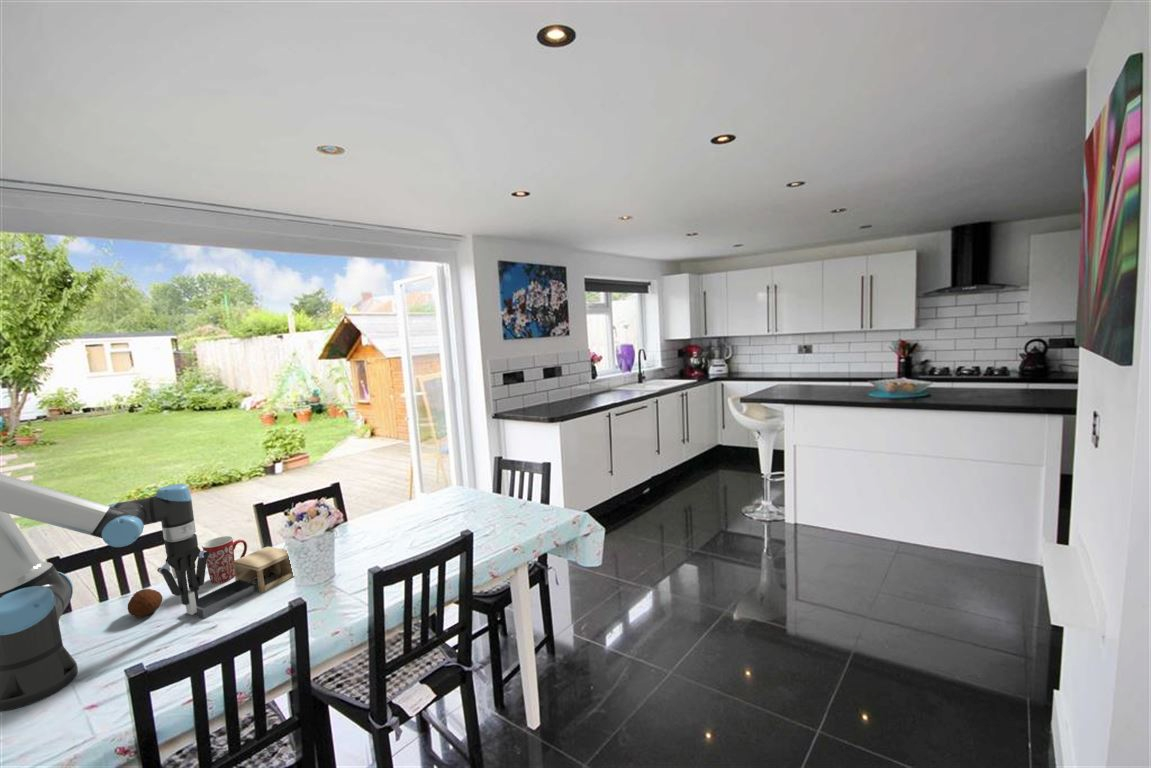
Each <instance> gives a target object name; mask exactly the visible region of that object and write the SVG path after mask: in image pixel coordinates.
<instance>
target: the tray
mask: <svg viewBox="0 0 1151 768" xmlns="http://www.w3.org/2000/svg"><path fill="white" fill-rule="evenodd" d="M257 593H258V586H257V583H254V582H251V581H249V582H248V581H244V580H240V579H239V580H237V581H236V580H235V581H232V582H231V583H228V584H226V585H223V586H221V587H220V588H217V589H214V590H213V591H211V592H209V593H207V594H204V595H202V596H199V597H198V600H196V606H197V613H195V614H192V616H195V617H198V618H201V619H207V618H208V617H210V616H212V615H215V614H217V613H219V612H221V611H223V610H224V609H226V608H228V607H231V606H232V605H235V604H237V603H239V602H241V601H243V600H245V599H247V598H248V597H251V596H253V595H255V594H257Z"/></svg>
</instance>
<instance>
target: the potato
mask: <svg viewBox="0 0 1151 768" xmlns="http://www.w3.org/2000/svg"><path fill="white" fill-rule="evenodd" d="M163 600H164V599H163V595H162V594H161V592H159V591H157V590H155V589H151V588H143V589H139V590H138V591H136V592H134V593H133V595H132V597H130V599H129V601H128V605H127V608H126V609H127V611H128V613H129V614H130V615H131V616H133V617H137V618H139V617H145V616H147V615H151V614H153V613H154V612H156V610H158V608H160V606H161V604H162V602H163Z"/></svg>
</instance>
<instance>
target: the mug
mask: <svg viewBox="0 0 1151 768" xmlns="http://www.w3.org/2000/svg"><path fill="white" fill-rule="evenodd" d="M233 540H234V537H233V536H232V535H225V536H224V535H223V536H219V537H213V538H212V539H208V540H207V541H204V542H203V543H202V544H201V548H202V551H207V552H209V556H208V558H207V561H206V567H207V571H208V576H209V580H210V583H212V584H221V583H225V582H227V581H230V580H232V579H234V578H235V573H234V566H233V561H235V560H236V559H235V552H234V551H235V549H236V547H237V545H238V544H239V543H242V544H243V551H242V553H241V555H240V557H239V558H242V557H244V556H246V555H247V551H248V544H247V542H246V541H245V540H244V539H237V540H235V541H233Z"/></svg>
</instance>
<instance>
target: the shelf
mask: <svg viewBox="0 0 1151 768" xmlns="http://www.w3.org/2000/svg"><path fill="white" fill-rule="evenodd" d="M287 551H288V550H286V549H283V548H282V549H281V548H277V547H274V546H273V547H272V546H270V545H268V546H264V547H263V548H259V549H258V550H256V551H253V552H251V553H249V554H245V556H244V557H242V558H240V557H239V558H237V559H234V560H235V561H233V566H234V573H235V577H234V578H235V581H237V580H239V579H240V580H244V581H248V582H251V581H253V580H255V579H257V584H258V586H257V587H258V591H259V594H263V593H265V592H266V591H267V590H270V589H271V588H274V587H276V586H277V585H280V584H281V583H283V582H285V581H287V580H289V579H291V578H294V577H293V572H292V568H291V564H290V560H289V556H288V553H287ZM271 573H275V575H276V579H274V580H272V581H271V582H268V583H266V584H265V579H264V578H269V577H271Z"/></svg>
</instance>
